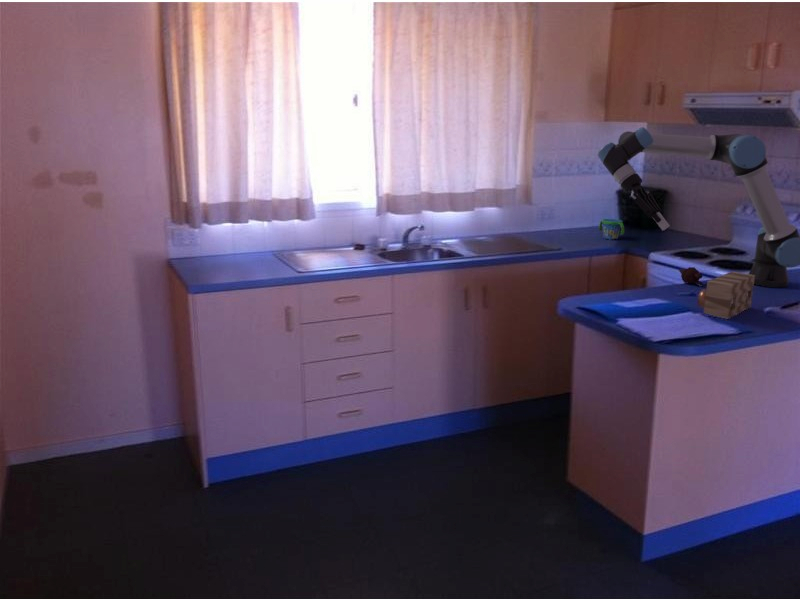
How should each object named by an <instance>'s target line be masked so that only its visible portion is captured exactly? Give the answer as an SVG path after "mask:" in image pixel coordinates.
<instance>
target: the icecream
mask: <svg viewBox="0 0 800 600" xmlns="http://www.w3.org/2000/svg"><path fill="white" fill-rule="evenodd" d="M678 270H679V271H678V272H679V273H680V274H681V275H680V278H681V280H682V282H684V283H685V284H690V285H692V284H691V283H694V284H696V283H697V284H700V285H702V284H703V282H702V281H700V279H702V278H703V274H702V273H700V272H699V270H698V269H696V267H693V266H692V267H690V266H689V267H688V268H680V269H678ZM697 284H696V285H697Z"/></svg>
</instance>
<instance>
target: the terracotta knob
mask: <svg viewBox="0 0 800 600" xmlns="http://www.w3.org/2000/svg"><path fill="white" fill-rule="evenodd" d="M705 296H706V289H705V288H704V289H701V290H700V292H699V293H698V297H697V304H698V305H697V306H698V307H701V308H704V304H705ZM733 305H734V300H733V299H732V302H731V308H732V307H733Z"/></svg>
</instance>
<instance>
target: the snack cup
mask: <svg viewBox="0 0 800 600" xmlns="http://www.w3.org/2000/svg"><path fill="white" fill-rule="evenodd" d="M598 230H599V231H600V232H601V231H602V234H603V235H602V236H603V239H604V240H609V241H611V240H612V241H615V240H614V239H616V240H618V239H619V236H623V235H624V234H625V226H624V223H623V220H621V219H617V218H604V219H602V220H601V221H600V223H599V225H598Z"/></svg>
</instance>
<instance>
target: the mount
mask: <svg viewBox="0 0 800 600" xmlns="http://www.w3.org/2000/svg"><path fill="white" fill-rule="evenodd" d="M754 279H755V275H751V274H749V273H743V272H736V271H729V272H727V273H725V274H722V275H720V276H717V277H715V278H712V279H710V280H707V281H706V282H707V283H706V289H705V290H706V296H705V304H704V307H703V311H702V312H703V313H706V314H709V315H713V316H717V317H721V318H726V319H728V318H730V317H732V316H734V315H736V316H737V314H738V313H740V314H742V313H743V312H742V311H744V310H746V309H747V310H749V309H751V308H752V307H751V305H752V300H753V291H754V286H755V285H754ZM747 292H749V297H748V300H746V296H747ZM732 299H733V300H734V305H733V307H732V308H731V302H732ZM750 307H751V308H750ZM748 308H749V309H748ZM747 310H746V311H747ZM741 312H742V313H741ZM744 312H745V311H744ZM703 313H702V314H703ZM738 315H739V314H738ZM734 317H735V316H734ZM732 318H733V317H732ZM730 319H731V318H730Z"/></svg>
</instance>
